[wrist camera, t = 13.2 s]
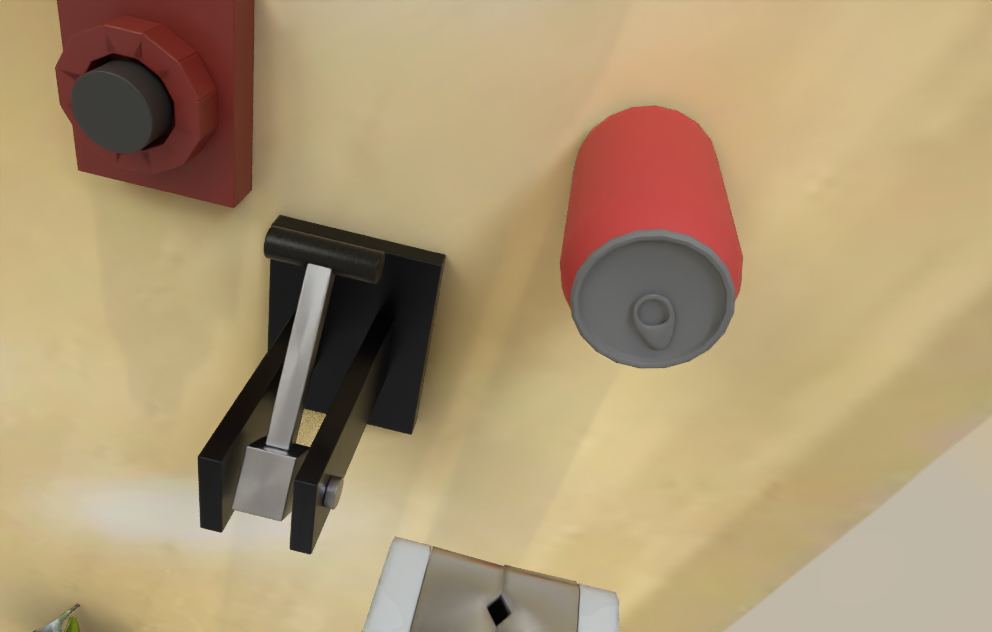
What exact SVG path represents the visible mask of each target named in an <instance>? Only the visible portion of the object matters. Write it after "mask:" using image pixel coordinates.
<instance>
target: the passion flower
mask: <svg viewBox="0 0 992 632" xmlns="http://www.w3.org/2000/svg"><path fill="white" fill-rule="evenodd" d="M79 606H80V605H79V604H77V605H75V606H74V607H73V608H71V609H70V610H68V611H66V612H65V613H64V614H63V615H61V616H60V617H59V618H57V619H56V620H55V621H53V622H52V623H50V624H49V625H47V626H46V627H44V628H41V629H38V630H35V631H33V632H61V625H62V622H63V621H64V620H65V619H66V617H67V616H69V614H70V613H71V612H72V611H74V610H75V609H76V608H77V607H79ZM65 632H80V631H79V625H78V623H77V620H76V618H75V616H72V617H70V618H69V621H68V624H67V627H66V629H65Z"/></svg>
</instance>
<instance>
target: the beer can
mask: <svg viewBox="0 0 992 632" xmlns="http://www.w3.org/2000/svg"><path fill="white" fill-rule="evenodd" d="M742 263H743V255H742V251H741V248H740V244H739V240H738V236H737V232H736V228H735V225H734V221H733V217H732V213H731V209H730V205H729V202H728V198H727V194H726V190H725V186H724V183H723V179H722V175H721V171H720V167H719V163H718V160H717V157H716V154H715V151H714V148H713V145H712V141H711V140H710V138H709V137H708V136H707V135H706V133H705V132H704V131H703V130H702V128H701V127H700V126H699V124H698V123H696V122H695V121H693V120H692V119H690V118H688V117H687V116H685V115H684V114H682V113H680V112H679V111H675V110H671V109H667V108H663V107H659V106H645V107H632V108H629V109H626V110H624V111H621V112H619V113H616V114H614V115H611V116H609V117H608V118H607V119H605V120H604V121H603V122H602V123H600V124H599V125H598V126H597V127H595V128H594V129H593V130H592V131H591V132H590V134H589V135H588V137H587V138H586V140H585V141H584V143H583V144H582V146H581V147H580V149H579V152H578V156H577V159H576V163H575V167H574V172H573V178H572V185H571V192H570V199H569V205H568V212H567V219H566V226H565V232H564V239H563V246H562V253H561V260H560V270H561V282H562V289H563V292H564V296H565V298H566V300H567V302H568V305H569V307H570V309H571V313H572V318H573V320H574V322H575V324H576V326H577V328H578V331H579V333H580V335H581V336H582V337H583V338H584V339H585V340H586V341H587V342H588V343H589V344H590V345H591V347H592V348H593V349H594V350H595V351H596V352H598V353H600V354H602V355H604V356H605V357H607V358H609V359H611V360H613V361H614V362H616V363H620V364H624V365H628V366H632V367H637V368H666V367H670V366H674V365H678V364H681V363H685V362H689V361H690V360H692V359H694V358H695V357H697V356H699V355H701V354H702V353H704V352H706V351H708V350H709V349H710V348H711V347H712V346H713V345H714V344H715V343H716V342H717V341H718V340H719V338H720V337H721V336H722V335H723V334H724V333H725V331H726V329H727V327H728V325H729V322H730V320H731V318H732V316H733V314H734V303H735V300H736V298H737V296H738V294H739V291H740V286H741V280H742Z"/></svg>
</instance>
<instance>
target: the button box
mask: <svg viewBox="0 0 992 632" xmlns="http://www.w3.org/2000/svg"><path fill="white" fill-rule="evenodd" d="M57 4H58V12H59V20H60V29H61V37H62V45H63V53H62V55H61V57H60V59H59V61H58V63H57V65H56V67H55V70H56V78H57V85H58V93H59V101H60V105H61V107H62V109H63V110H64V112H65V114H66V115H67V117H68V118H69V120H70V122H71V123H72V125H73V133H74V141H75V149H76V157H77V165H78V170H79V171H83V172H87V173H91V174H95V175H99V176H103V177H108V178H112V179H116V180H120V181H124V182H128V183H132V184H137V185H141V186H145V187H149V188H153V189H157V190H161V191H166V192H170V193H174V194H178V195H182V196H186V197H190V198H195V199H199V200H203V201H207V202H211V203H215V204H219V205H224V206H228V207H232V208H235V207H236V206H237V205H238V204H239V203H240V202H241V201H242V200H243V198H244V197H245V196H246V195H247V194H248V193H249V192H250V191H251V190H252V134H253V60H254V0H57ZM114 60H126V61H131V62H134V63H137V64H139V65H141V66H143V67H145V68H146V69H148V70H149V71H150V72H152V73H153V74H154V75H155V76H156V77H157V78H158V79H159V81H160V82H161V83H162V85H163V86H164V88H165V89H166V91H167V93H168V96H169V98H170V102H171V107H172V117H171V122H170V125H169V127H168V129H167V130H166V132H165V133H164V134H163V135H161V136H160V137H158V138H157V139H156V140H154V141H153V142H151V143H150V144H148V145H147V146H145V147H144V148H142V149H141V150H139V151H137V152H134V153H127V154H124V153H116V152H112V151H109V150H107V149H105V148H103V147H101V146H99V145H98V144H96V143H95V142H94V141H93V140H91V139H90V138H89V137H88V136H87V135H86V134H85V132H84V131H83V130H82V129H81V127H80V126H79V124H78V122H77V121H76V118H75V116H74V114H73V110H72V106H71V93H72V89H73V86H74V84H75V82H76V81H77V79H78V78H79V77H80V76H82V75H83V74H85V73H87V72H89V71H91V70H93V69H95V68H98V67H100V66H102V65H104V64H106V63H108V62H110V61H114Z"/></svg>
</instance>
